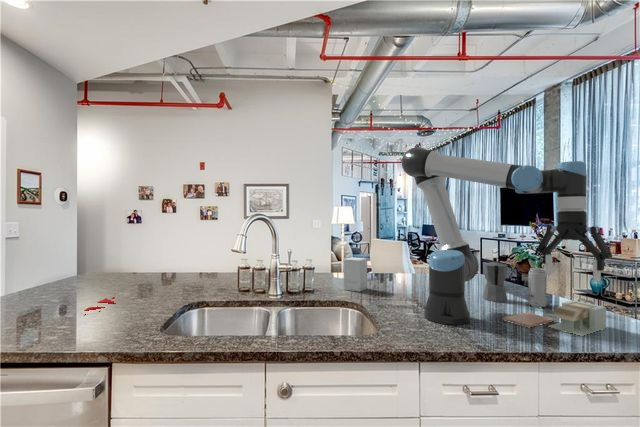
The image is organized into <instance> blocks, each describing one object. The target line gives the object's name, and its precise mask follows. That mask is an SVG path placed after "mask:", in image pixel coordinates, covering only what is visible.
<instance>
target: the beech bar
mask: <svg viewBox="0 0 640 427" xmlns="http://www.w3.org/2000/svg"><path fill="white" fill-rule="evenodd" d="M590 308H593V307H592V306H587V305H583V304H578V303H573V304H569V305H564V306H562V305H559V306H557V307H555V308H554V311H555V312H554V317H555V318H558V319H560V320H561V319H565V320H569V321H576V320H580V319H584V318H587V317H589V309H590Z"/></svg>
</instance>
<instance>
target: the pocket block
mask: <svg viewBox="0 0 640 427" xmlns="http://www.w3.org/2000/svg"><path fill="white" fill-rule="evenodd" d="M573 303H578V304H583V305H587V306H592V307H593V308H590V309H589V317H587V318H584V319H580V320H576V321H569V320H565V319H561V318H560V322H557V323H554V324H551V325H548V328H549V327H551V328H550V329H552V328H555V329H554V330H556V329H559V330H562V331H561V332H563V331H566V332H569V333H568V334H570V333H573V334H572V335H574V334H576V335H575V336H577V335H580V336H579V337H581V336H582V337H585V336H588V335H591V334H590V333H592V334H594V333H593V332H595V333H597V332H596V331H598V332H600V331H599V330H601V331H603V330H602V329H604V330H606V329H607V307H606V306H603V305H597V304H593V303H592V304H591V303H587V302H583V301H578V300H569V301H565V302H561V306H564V305H569V304H573ZM605 328H606V329H605ZM559 330H558V331H559ZM566 332H565V333H566ZM587 334H588V335H587ZM584 335H585V336H584Z"/></svg>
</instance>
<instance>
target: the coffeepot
mask: <svg viewBox="0 0 640 427" xmlns="http://www.w3.org/2000/svg"><path fill="white" fill-rule="evenodd" d="M482 267H483V272H484V273H483V274H484V279H485V280H486V282H485V285H484V291H483V296H482V299H484V300H485V301H488V302H491V301H493V303H506V302H507V301H508V297H507V296H508V295H507V290H506V286H505V285H504V284H505V281H506V279H507V278H506V277H507V271H508V264H505V263H502V262H498V258H497V257H493V258H492V261H491V262H485V263H482ZM505 301H506V302H505Z"/></svg>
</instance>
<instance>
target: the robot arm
mask: <svg viewBox="0 0 640 427" xmlns="http://www.w3.org/2000/svg"><path fill="white" fill-rule="evenodd" d="M401 168H402V170H403V172H404V173H405V174H406V175H407V176H409V177H412V178H414V180H415V183H416V184H415V185H416V187H417V188H419V189H420V190H422V192H423V196H424V199H425V201H426V205H427V209H428V211H429V215H430V218H431V221H432V224H433V228H434V231H435V233H436V237H437V239H438V242H439V245H440V247H439V248H438V250H435V251H432V252H431V253H430V255H429V260H428V267H429V268H428V281H429V282H428V286H429V287H428V289H429V290H428V291H429V292H428V294H429V295H428V298H427V299H426V304H425V307H424V309H423V317H424V318H425V319H426V320H429V321H430V322H434V323H438V324H444V325H465V324H467V323H469V322H470V321H471V314H470V312H469V308H468V304H467V302H466V299H465V283H466V282H469V281H471V280H472V279H474V278H475V277H476V275H477V274H478V272H479V269H480V263H479V260H478V257H477V256H476V254H474V253H473V252H472V250H471V247H470V244H469V243H468V242H466V240H465V241H464V240H463V239H464V238H463V236H462V233H461V231H460V227H459V224H458V222H457V219H456V215H455V213H454V209H453V206H452V203H451V200H450V198H449V194H448V191H447V188H446V186H445V181H446V179H447V178H450V179H456V180H460V181H466V182H471V183H478V184H484V185H490V186H496V187H499V188H500V187H501V188H506V189H507V188H508V189H512V190H514V191H515V193H516V194H526V195H528V194H544V193H545V194H549V193H556V194H557V198H556V200H557V203H556V204H557V205H556V209H557V210H559V211H558V212H557V213H556V214H557V215H556V219H557V220H556V221H557V225H553V224H548V225H547V226H546V230H545V233H544V235H543V236H542V238H541V241H540V243H539V245H538V247H536V252H538V253H541V254H542V263H543V264H545V272H546V276H547V275H553V254H551V253H552V252H553V251H554V250H555V249H556V248H557V247H558V246H559V245H560V243H561V242H562V241H564V240H567V241H569V240H571V241H578V242H580V243H581V244H582V245H584V247H585V248H586V249H587V250H588V251H589V252H590V254H591V255H593V257H595V259H592V278H593V279H592V282H595V283H596V282H597V283H598V282H601V281H602V278H601V276H602V275H601V272H603V271H604V270H605V260H608V259H611V258H613V254H612V253H611V251H610V249H609V247H608V245H607V244H606V241H605V239H603V236H602V235H601V233H600V227H599V226H596V225H594V226H590V227H589V226H587V222H588V221H587V215H588V214H587V211H585V210H587V204H588V203H587V193H588V192H587V187H588V186H587V183H588V182H587V181H588V180H587V179H588V175H587V164H586V163H585V162H584V161H581V160H580V161H579V160H569V161H561V162H559V163H557V166H556V168H555V169H544V170H543V169H542V170H540V169H539V168H538V167H536V166H534V165H528V164H525V165H522V164H521V165H520V164H513V163H508V162H507V163H506V162H499V161H491V160H484V159H477V158H476V159H475V158H468V157H460V156H454V155H446V154H440V153H438V152H437V151H436V150H430V149H428V148H427V149H426V148H423V147H421V146H415V147H414V146H413V147H411V148H410V149H408V150H407V151H405V153H404V154H403V155H402V159H401ZM555 232H558V234H557V235H556V236H554V237H555V238H554V239H553V240H552V237H553V235H554V234H555ZM587 233H589V234H590V236H591V237H592V239H593V241H594V243H595V244H596V246H597V247H596V246H595V244H593V242H592V241H591V240H590V238H589V237H588V236H587V235H586V234H587ZM551 240H552V241H551ZM550 241H551V242H550Z"/></svg>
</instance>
